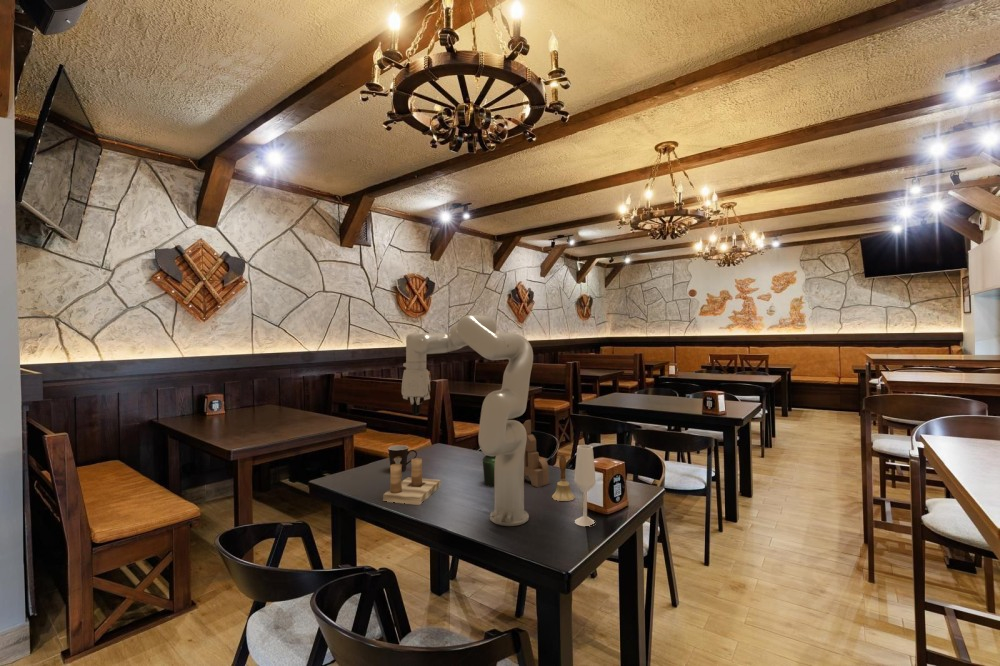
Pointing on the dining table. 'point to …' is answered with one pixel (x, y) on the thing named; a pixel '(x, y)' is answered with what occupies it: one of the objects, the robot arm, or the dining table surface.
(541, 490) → the dining table surface
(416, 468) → the peg
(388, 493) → the board
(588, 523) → the champagne flute
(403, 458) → the coffee mug
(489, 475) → the potion bottle
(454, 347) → the robot arm
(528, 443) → the wooden toy
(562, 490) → the hand bell
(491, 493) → the dining table surface
